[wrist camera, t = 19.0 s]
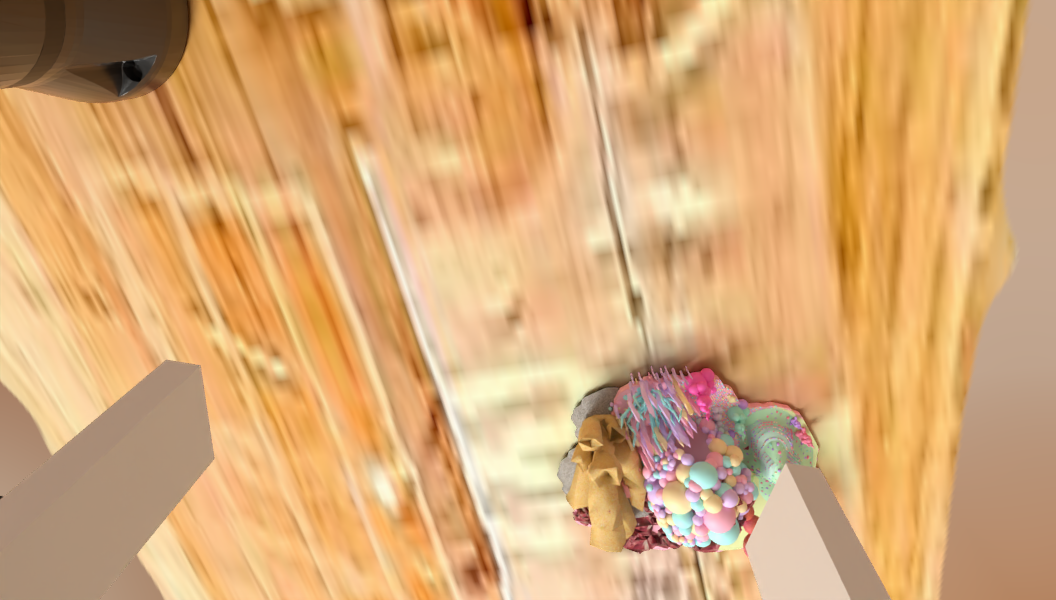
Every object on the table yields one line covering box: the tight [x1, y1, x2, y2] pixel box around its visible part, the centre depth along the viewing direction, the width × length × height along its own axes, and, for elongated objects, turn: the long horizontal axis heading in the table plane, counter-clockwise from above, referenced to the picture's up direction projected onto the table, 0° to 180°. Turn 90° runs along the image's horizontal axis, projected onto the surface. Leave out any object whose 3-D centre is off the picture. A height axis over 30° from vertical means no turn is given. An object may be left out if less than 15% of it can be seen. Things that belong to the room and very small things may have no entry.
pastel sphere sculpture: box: [557, 365, 819, 556], centre depth 51 cm, size 25×24×9 cm
